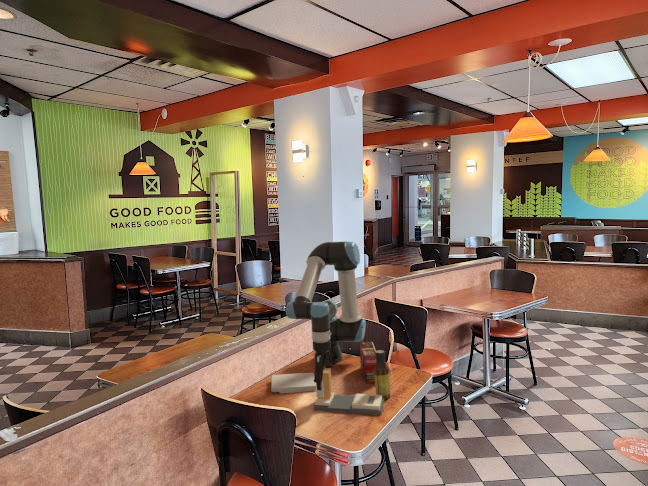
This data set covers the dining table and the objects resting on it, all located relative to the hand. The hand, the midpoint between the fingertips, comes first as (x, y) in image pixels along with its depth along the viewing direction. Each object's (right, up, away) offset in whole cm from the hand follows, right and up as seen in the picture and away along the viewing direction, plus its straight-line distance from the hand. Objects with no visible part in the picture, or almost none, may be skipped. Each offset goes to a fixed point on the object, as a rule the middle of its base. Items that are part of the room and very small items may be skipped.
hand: (324, 389), depth 179 cm
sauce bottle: (+25, -5, +4) cm, 26 cm away
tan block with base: (0, -4, 0) cm, 4 cm away
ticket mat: (+11, -6, -2) cm, 12 cm away
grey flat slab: (-14, -6, +21) cm, 26 cm away
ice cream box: (+22, -3, +28) cm, 36 cm away
